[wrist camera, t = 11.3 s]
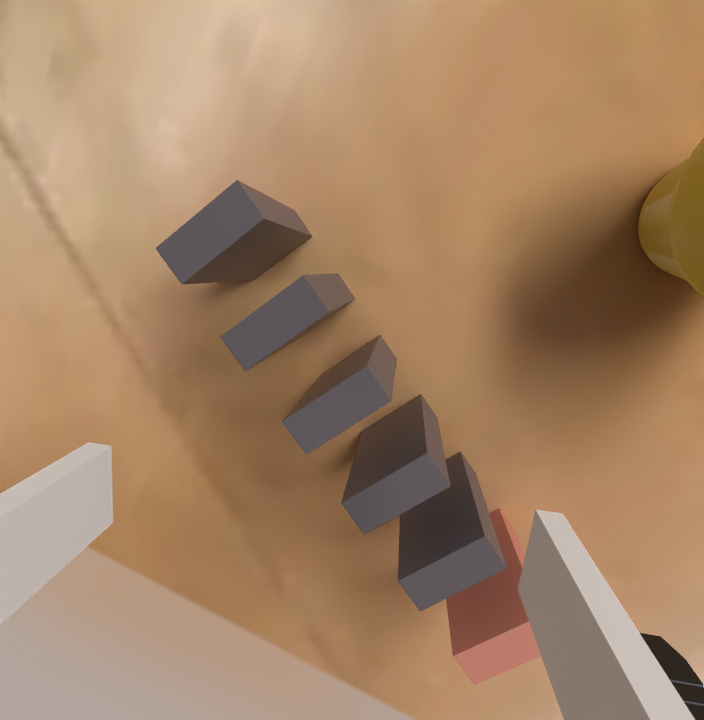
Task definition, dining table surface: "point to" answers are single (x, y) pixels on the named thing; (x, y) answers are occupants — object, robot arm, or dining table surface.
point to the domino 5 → (448, 540)
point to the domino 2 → (286, 317)
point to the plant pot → (677, 221)
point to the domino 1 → (233, 238)
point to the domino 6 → (493, 616)
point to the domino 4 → (396, 466)
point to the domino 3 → (343, 395)
